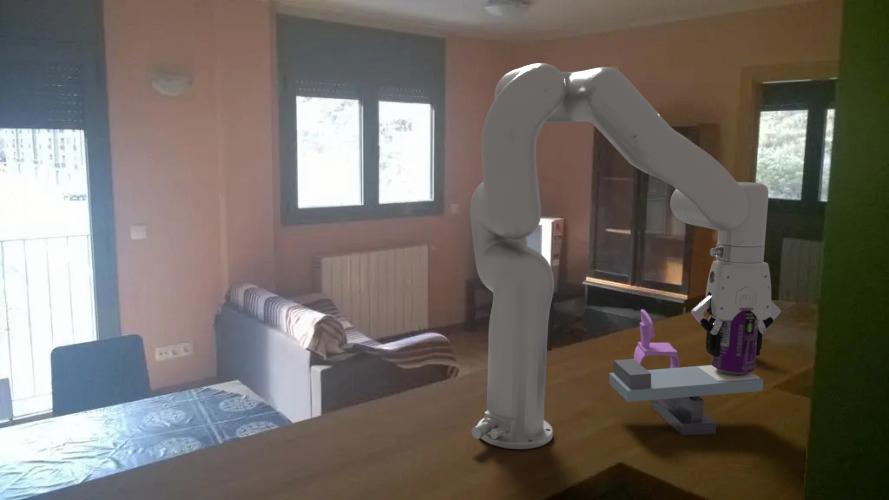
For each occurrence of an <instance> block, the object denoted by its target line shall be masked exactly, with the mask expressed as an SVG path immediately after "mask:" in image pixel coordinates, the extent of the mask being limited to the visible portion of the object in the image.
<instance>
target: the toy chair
mask: <svg viewBox="0 0 889 500" xmlns="http://www.w3.org/2000/svg"><path fill="white" fill-rule="evenodd" d="M640 318H641V321H640V322H639V330H640V332H639V333H640V341H637V346H636V347H635V350H634V354H633V359H634V360H635V361H637V362H638V363H639V364H640V365H641V366H642V363H643V362H644V360H645V358H646V357H649V356H650V357H651V356H666V357H670V366H669V368H680V358H679V356H678V351H677V350H676V349H675V348H674V346H672V345H671V343H670V342H651V339H653V338H655V337H656V335H655V330H654V323H653V320H652V318H651V317H650V314H648V312H647V311H646V310H645V309H644V308H643V309H640Z"/></svg>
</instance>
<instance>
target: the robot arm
mask: <svg viewBox="0 0 889 500" xmlns="http://www.w3.org/2000/svg"><path fill="white" fill-rule="evenodd" d="M493 96H494V101H493V102H492V104H491V105H490V107H489V110H488V111H487V113H486V117H485V118H484V123H483V125H482V132H481V139H480V140H481V141H480V146H481V147H480V150H481V151H480V152H481V166H482V167H481V169H482V182H481V183H480V184H479V185H478V186H477V187H476V188H475V190H474V191H473V194H472V197H471V200H470V205H469V206H470V207H469V216H470V226H471V234H472V235H471V236H472V244H473V252H474V253H473V254H474V260H475V266H476V271H477V276H478V278H479V279H480V281H481V283H482V284H483V285H484V286H485V287H486V288H487V289H488V290H489V291H491V292H492V294H493V295H492V296H493V297H492V305H491V310H490V314H489V315H490V316H489V324H488V351H487V352H488V354H487V355H488V356H487V357H488V358H487V384H486V385H487V389H486V391H487V392H486V394H487V395H486V411H485V412H484V417H483V418H481V419H480V420H479V421H478V423H477V425H475V426H472V428H471V431H470V432H471V433H470V434H471V435H472V437H473V438H474V439H477V440H478V439H481V440H482V441H484V442H486V443H487V444H490V445H492V446H495V447H499V448H503V449H509V450H511V449H512V450H530V449H534V448H535V449H536V448H539V447H542V446H544V445H547V444H548V443H550V441H551V440H552V439H553V432H554V429H553V426H551V424H550V423H549V422H547V421H546V420H545V405H546V404H545V403H546V402H545V399H546V378H547V377H546V375H547V356H548V355H547V352H548V348H547V347H548V346H547V345H548V330H549V329H548V326H549V317H550V311H551V304H552V299H553V296H554V288H555V277H554V272H553V269H552V266H551V265H550V262H548V260H547V258H546V257H544V255H543V254H542V253H540V252H539V251H537V250H535V249H534V248H531V247H528V243H527V237H529V236H531V235H532V234H533V233H534V232H535V231H536V230H537V229H538V227H539V226H540V225H539V224H540V222H541V217H542V205H541V196H540V188H539V187H540V186H539V177H538V168H537V166H538V165H537V141H538V137H539V134H540V131H541V129H542V127H543V125H544V124H545V123H587V122H588V123H589V122H590V123H591V124H592V125H593V126H594V127H596V129H597V130H598V132H600V133H601V134H602V135H603V137H605V139H607V141H609V142H610V144H611V145H612V147H614V148H615V149H616V150H617V151H618V152H619V154H620V155H621V156H622V157H623V158H624V159H625V160H626V161H627V162H628V163H629V164H630V165H632V166H633V167H635V168H637V170H639V171H641V172H644V173H646V174H648V175H649V176H653V177H655V178H657V179H660V181H663V182H665V183H667V184H668V185H670V186H671V187H673V188H675V189H674V191H673V193H672V195H671V197H670V202H669V206H670V210H671V212H672V214H673V216H675V217H676V218H677V219H678V220H679V221H680V222H682V223H685V224H687V225H692V226H695V227H700V228H701V227H702V228H706V229H711V230H716V231H717V243H715V245H716V246H715V247H713V248H712V247H711V248H710V249H709V254H710V256H711V257H715V259H716V260H713V261H712V263H711V267H710V270H709V273H708V279H707V283H706V289H705V297H704V299H703V300H701V301H700V302H699V303H697V305H696V306H694V307H693V308H692V309H691V310H690V313H691V315H692V316H693V317H694V319H695V320H696V322H698V324H699V325H700V326H701V327H702V328H703V329H704V330H705V331H706V335H705V336H706V337H705V350H706V351H707V353H708V354H710V355H711V357H712V356H714V357H718V356H719V352H720V338H721V337H720V335H719V334H718V331H719V329H720V327H721V325H722V322H723V321H732V320H733V318H734V317H735V316H736V315H737V314H738V313H739V312H741V311H742V310H739V308H753V310H750V311H752V312H753V313H754V314H755V315H756V317H757V319H758V321H759V324H758V336H757V348H756V357H758V356H760V354H761V350H762V345H763V334H765V333H766V332H767V329H768V327H770V326H771V325H772V324H773V323H774V320H776V319H777V317H778V316H779V315H780V314H781V313H782V311H781V308H779V307H778V306H777V305H776V304H775V303H774V302H773V301H772V282H771V273H770V266H769V263H768V262H764V259H765V258H764V257H765V246H766V245H765V244H766V232H767V220H768V219H767V218H768V210H769V209H768V207H769V206H768V205H769V189H768V187H767V185H765V184H763V183H759V182H751V181H750V182H749V181H748V182H747V181H742V182H741V181H739V182H738V181H737V180H736V179H735V178H734V177H733V176H732V175H731V174H730V172H729V171H728V170H727V169H726V168H725V167H724V166H723V165H722V164H721V163H720V161H718V160H717V159H715V157H713V156H712V155H711V154H709V153H708V152H707V151H705V150H704V149H703V148H701V147H700V146H698V145H697V144H695V143H694V142H693V141H691V140H690V139H688V138H687V137H686V136H685V135H683V134H681V133H680V132H678V131H676V130H675V129H674V128H673V127H672V126H670V124H669V123H667V121H666V120H665V119H664V118H663V116H661V115H660V113H658V111H657V110H656V109H655V108H654V107H653V106H652V104H651V103H650V102H649V101H648V100H647V99H646V98H645V97H644V95H643V94H641V92H640V91H639V90H638V89H637V88H636V87H635V85H634V84H633V83H632V82H631V81H630V80H629V79H628V78H627V77H626V76H625V75H624V74H623V73H622V72H621V71H619V70H618V69H616V68H613V67H609V66H600V67H595V68H590V69H586V70H580V71H561V70H560V69H558V68H557V67H556V66H555V65H552V64H550V63H543V62H537V63H532V64H529V65H525V66H522V67H519V68H516V69H513V70H511V71H509V72H508V73H507V72H506V73H505V74H504V75H503V76H502V77H501V78H500V79H499V81H498V82H497V84H496V86H495V89H494V95H493ZM705 313H706V314H707V315H709V316H708V318H706V316H705V315H704V314H705ZM715 319H716V320H715Z"/></svg>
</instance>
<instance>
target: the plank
mask: <svg viewBox="0 0 889 500" xmlns="http://www.w3.org/2000/svg"><path fill="white" fill-rule="evenodd" d="M608 376H609V385H610V386H611V387H612V388H613V389H614V390H615V391H616V392H617V393H618V394H619V395H620V396H621V397H622V398H623V399H624V400H625V402H627V403H631V402H632V403H633V402H634V403H635V402H645V401H651V400H659V399H671V398H683V397H695V396H699V397H702V396H703V397H705V396H718V395H730V394H741V393H742V394H743V393H753V392H763V390H764V389H763V388H764V378H761V377H760V376H759V375H757V374H755V373H753V371H752V372H749V373H747V374H744V375H732V374H727V373H723V372H721V371H719V370H718V369H716V368H715V367H713V366H712V364H708V365H696V366H694V365H693V366H683V367H682V366H681V367H680V366H679V368H670V367H668V368H658V369H655V368H654V369H646V368H645V366H642V364H641V365H640V364H639V363H638V362H637V361H635V360H634V358H627V359H626V358H625V359H614V360H613V372H609V375H608Z"/></svg>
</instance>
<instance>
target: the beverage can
mask: <svg viewBox="0 0 889 500" xmlns="http://www.w3.org/2000/svg"><path fill="white" fill-rule="evenodd" d="M739 310H742V311H741V312H739V313H738V314H737V315H736V316H735V317H734V318H733V320H732V321H723V322H722V325H721V327H720V329H719V331H718V334H719V335H720V337H721V338H720V352H719V356H718V357H714V356H712V355H711V364H710V365H712V366H713V367H715V368H716V369H718V370H719V371H721V372H723V373H727V374H732V375H744V374H747V373H749V372H752V373H753V372H754V371H755V369H756V360H757V359H756V357H757V356H756V348H757V336H758V324H759V321H758V319H757V317H756V315H755V314H754V313H753V312H752V311H750V310H753V308H739ZM715 320H716V319H715Z"/></svg>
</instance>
